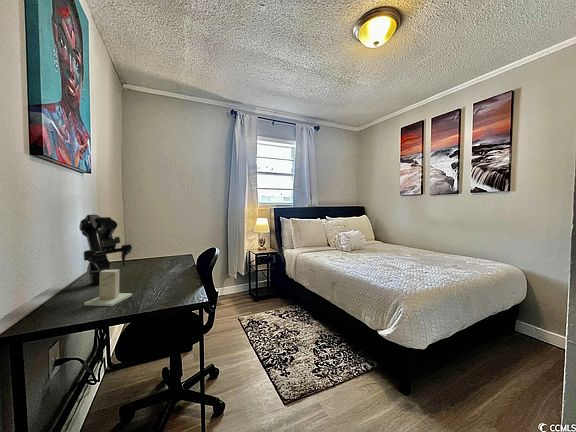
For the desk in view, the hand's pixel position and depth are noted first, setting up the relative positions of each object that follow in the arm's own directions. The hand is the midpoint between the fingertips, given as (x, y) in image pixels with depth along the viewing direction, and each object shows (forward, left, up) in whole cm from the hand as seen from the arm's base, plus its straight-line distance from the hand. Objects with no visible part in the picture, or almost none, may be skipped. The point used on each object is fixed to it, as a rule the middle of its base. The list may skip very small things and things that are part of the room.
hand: (112, 267), depth 115 cm
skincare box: (+6, -9, -11) cm, 16 cm away
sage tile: (+6, -9, -12) cm, 16 cm away
